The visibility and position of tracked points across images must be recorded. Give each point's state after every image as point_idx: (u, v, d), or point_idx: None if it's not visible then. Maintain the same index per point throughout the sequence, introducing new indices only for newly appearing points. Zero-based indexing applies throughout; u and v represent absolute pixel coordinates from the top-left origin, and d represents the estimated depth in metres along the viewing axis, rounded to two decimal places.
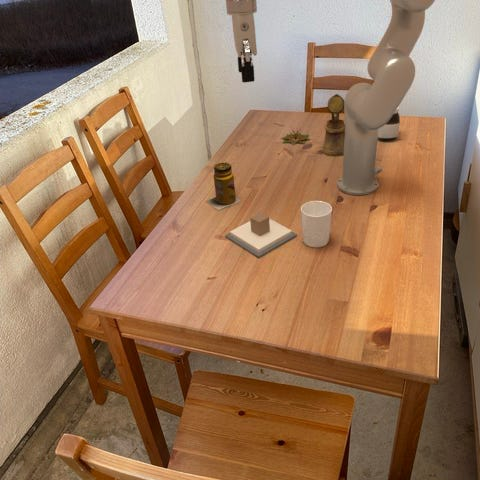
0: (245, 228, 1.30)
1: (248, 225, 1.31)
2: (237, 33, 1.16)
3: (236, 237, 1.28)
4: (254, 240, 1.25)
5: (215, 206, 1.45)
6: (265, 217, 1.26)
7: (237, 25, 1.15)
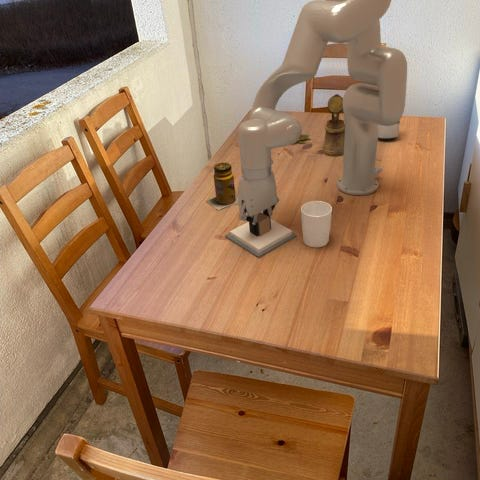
0: (245, 228, 1.30)
1: (248, 225, 1.31)
2: (275, 184, 1.22)
3: (236, 237, 1.28)
4: (254, 240, 1.25)
5: (215, 206, 1.45)
6: (265, 217, 1.25)
7: None
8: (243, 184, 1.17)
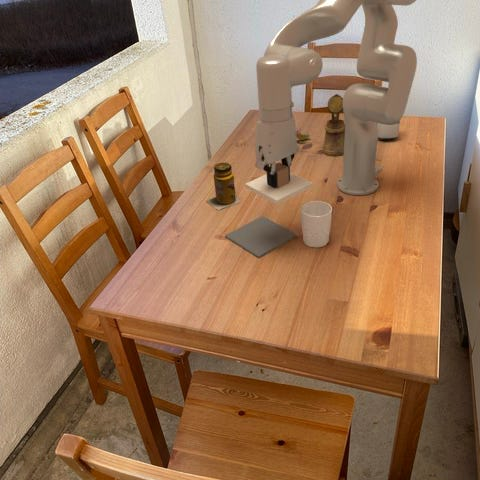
0: (262, 180, 1.21)
1: (265, 177, 1.22)
2: (295, 130, 1.12)
3: (252, 189, 1.19)
4: (272, 192, 1.16)
5: (215, 206, 1.45)
6: (284, 167, 1.16)
7: None
8: (261, 128, 1.08)
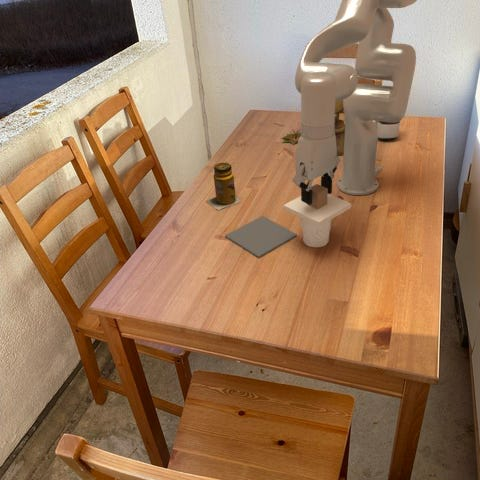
0: (300, 201, 1.21)
1: None
2: None
3: (291, 211, 1.19)
4: (312, 213, 1.16)
5: (215, 206, 1.45)
6: (323, 188, 1.17)
7: None
8: (304, 145, 1.07)
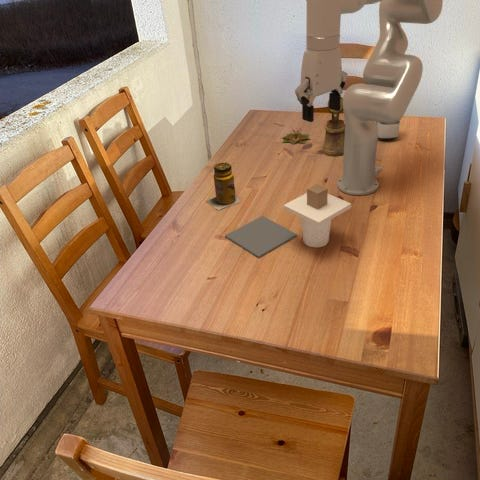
0: (300, 201, 1.21)
1: (302, 198, 1.22)
2: (341, 63, 1.12)
3: (291, 211, 1.19)
4: (312, 213, 1.16)
5: (215, 206, 1.45)
6: (323, 188, 1.17)
7: None
8: (309, 57, 1.07)
